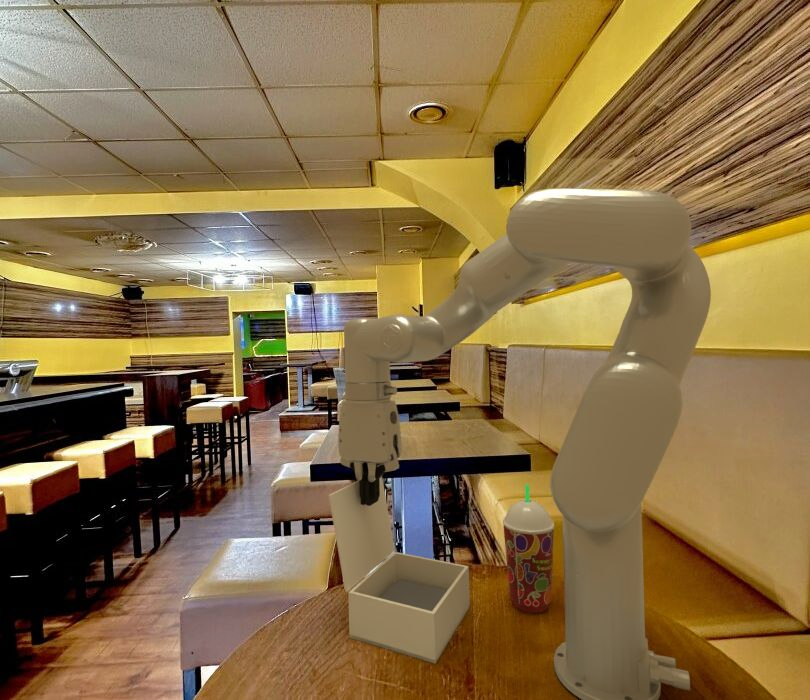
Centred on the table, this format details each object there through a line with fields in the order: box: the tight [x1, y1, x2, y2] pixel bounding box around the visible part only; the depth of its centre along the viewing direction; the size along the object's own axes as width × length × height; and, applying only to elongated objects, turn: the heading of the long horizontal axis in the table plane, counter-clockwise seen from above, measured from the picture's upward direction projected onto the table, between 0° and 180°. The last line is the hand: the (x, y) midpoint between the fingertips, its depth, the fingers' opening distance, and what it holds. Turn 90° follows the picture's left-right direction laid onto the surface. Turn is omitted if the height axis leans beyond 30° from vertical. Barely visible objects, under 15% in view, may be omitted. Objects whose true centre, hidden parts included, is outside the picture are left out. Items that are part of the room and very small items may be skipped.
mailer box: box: [347, 551, 471, 664], centre depth 71 cm, size 14×15×7 cm
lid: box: [328, 476, 396, 593], centre depth 75 cm, size 14×16×1 cm
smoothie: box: [502, 483, 555, 614], centre depth 75 cm, size 8×8×20 cm
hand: (369, 502), depth 75 cm, fingers closed
